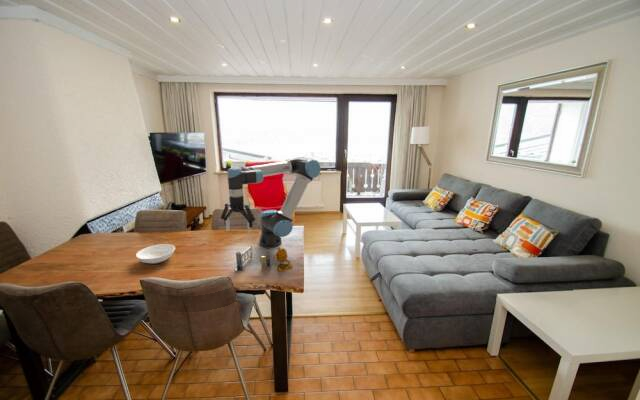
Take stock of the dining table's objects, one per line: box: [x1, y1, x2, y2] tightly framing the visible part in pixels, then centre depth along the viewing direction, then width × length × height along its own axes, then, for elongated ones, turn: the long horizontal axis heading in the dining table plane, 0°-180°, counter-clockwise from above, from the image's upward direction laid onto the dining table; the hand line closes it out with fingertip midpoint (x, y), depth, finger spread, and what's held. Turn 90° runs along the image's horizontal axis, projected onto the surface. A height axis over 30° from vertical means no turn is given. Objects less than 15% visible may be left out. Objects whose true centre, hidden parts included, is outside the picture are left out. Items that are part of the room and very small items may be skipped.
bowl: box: [135, 243, 176, 264], centre depth 156 cm, size 20×20×6 cm
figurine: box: [272, 246, 293, 272], centre depth 149 cm, size 8×11×12 cm
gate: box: [240, 245, 254, 266], centre depth 154 cm, size 12×1×8 cm, turn 165°
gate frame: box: [234, 248, 271, 273], centre depth 149 cm, size 4×19×10 cm, turn 105°
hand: (238, 231), depth 152 cm, fingers open, 13 cm apart
